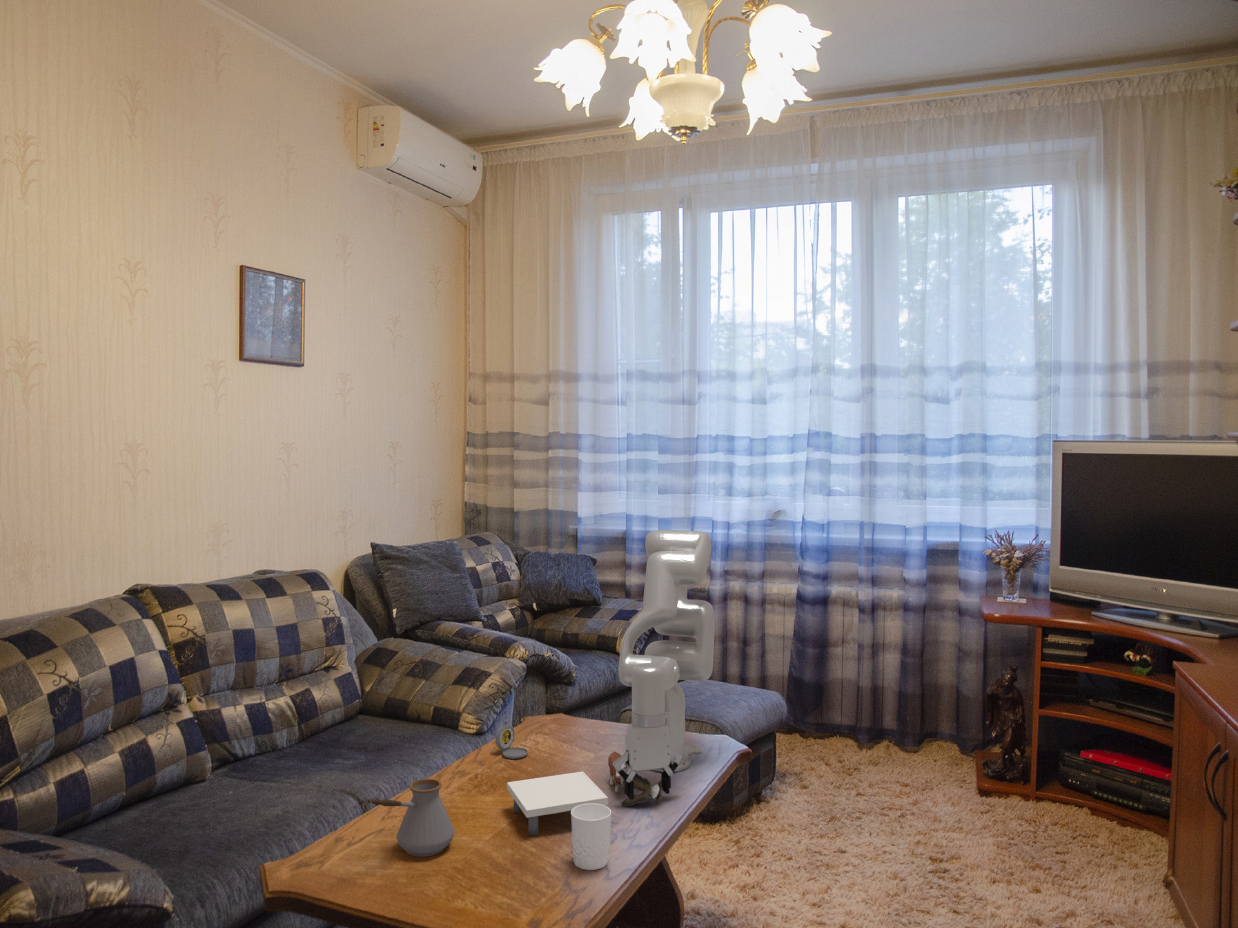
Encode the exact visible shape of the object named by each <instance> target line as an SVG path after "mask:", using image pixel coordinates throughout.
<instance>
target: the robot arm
mask: <svg viewBox="0 0 1238 928" xmlns="http://www.w3.org/2000/svg"><path fill="white" fill-rule="evenodd" d="M644 544H645V545H644V547H645V551H646V556H647V561H646V569H645V579H644V588H643V590H644V592H643V600H642V601H643V603H642V609H641V612H640V614H639V615H638V616H637V617H636V618H635V619H634V620H632V622H631V623H630V624H629V626H628V627H627V628H626V630H625V633H624V634H623V637H622V640H621V643H620V649H619V651H620V652H619V660H618V679H619V681H620V683H622V685H623V686H626V687H629V688H630V687H631V723H629V724H627V728H626V734H625V741H624V749H623V754H622V755H621V757H619V758H618V759H617V760H616V761H614V762H613V766H614V768H615V769H616V771H617V773H618V774H620V775H621V776H622V777H623V778H624V782H623V783H624V786H623V789H624V790H623V792H624V795H625V796H626V797H627V798H629V799H630V800H632V799H634V795H635V788H634V782H633V781H632V779H633V777H634V776H635V774H636V773H640V772H646V771H654V772H658V773H659V772H660V773H661V775H660V780H661V779H662V788H663V789H662V790H661V791H662V792H664V793H665V794H667V795H669V794H670V791H671V790H670V789H671V788H672V777H673V775H674V772H676V773H677V772H681V771H683V770H686V769H688V768H689V767H690V766H691V763H692V761H691V760H692V759H691V758H690V757H691V756H692V755H698V754H702V753H703V748H702V746H701V745H696V746H693V744H685V741H686V739H685V738H686V737H685V736H686V733H685V731H686V730H685V729H686V718H685V717H686V696H685V693H684V691H683V688H682V687H681V685H680V684H679V680H680V681H681V680H683V681H696V682H697V681H698V682H700V681H701V682H703V681H707V680H709V679H710V677H711V676H712V674H713V670H714V668H713V667H714V653H715V651H714V650H715V623H716V622H715V619H716V618H715V612H714V611H715V610H714V607H713V605H712V604H711V603H710V602H708V601H707V600H704V599H703V600H702V599H688V586H692V587H697V586H700V585H702V583H704V581H705V578H706V575H707V571H708V566H709V562H710V558H711V554H712V539H711V537H710V535H709V533H708V532H705V531H701V530H679V529H678V530H676V529H675V530H674V529H659V530H653V531H650V532H649V533H647V534H646V537H645V541H644ZM650 629H654V631H655V632H656V633H657V634H659V635H663V636H668V637H669V636H671V637H686V638H694V639H695V640H696V642H695V641H694V642H693V641H680V640H656V641H653V642H650V643H649V644H647V647H646V648H645V650H644V654H634V653H633V651H634V647H635V644H636V642H637V640H638V639H639V638H640V636H641V635H643V634H644V633H646V632H647V631H648V630H650ZM622 764H625V765H626V766H627V768H626V770H625V771H623V769H622V767H621V766H622Z"/></svg>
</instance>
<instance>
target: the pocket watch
mask: <svg viewBox="0 0 1238 928" xmlns="http://www.w3.org/2000/svg"><path fill="white" fill-rule="evenodd" d="M504 717H507V718H504ZM503 718H504V719H503ZM508 720H509V716H508V715H507V714H504V715H502V717H501V721H502V722H504V724H502V725H501V726H500V727H499V729H498V730H497V732H496V735H495V744H496V747H497V748H498V749H499V750H502V756H503V757H504V758H507V759H512V760H515V759H516V760H517V759H521V758H524V757H526V756H528V755H529V751H528V749H526V748H524V747H511V746H512V744H513V742H514V739H515V728H514V726H513V725H512V724H509V723H507V722H508Z"/></svg>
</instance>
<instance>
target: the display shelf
mask: <svg viewBox="0 0 1238 928" xmlns="http://www.w3.org/2000/svg"><path fill="white" fill-rule="evenodd" d="M506 789H507V791H508V793H509V794H510V795H511V797H512V799H513V813H515V812H516V813H515V814H521V813H523V814H524V816H525V817H526V819H527V818H528V835H529V836H531V837H534V836H537V835H539V816H545V815H551V814H558V813H564V812H569V811H570V812H571V810H572V809H573V808H574V807H576V806H578V805H582V804H588V803H595V804H601V805H605V806H608V805H609V797H608V796H607V795H606V794H605V793H604V791H602V789H600V787H598V786H597V784H596V783H595V782H594V781H592V779H591V778H590V777H589V776H588V775H587V774H586V773H585V772H584V771H576V772H570V773H562V774H556V775H549V776H543V777H535V778H529V779H521V780H515V781H508V782H506Z"/></svg>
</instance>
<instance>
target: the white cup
mask: <svg viewBox="0 0 1238 928" xmlns="http://www.w3.org/2000/svg"><path fill="white" fill-rule="evenodd" d="M570 821H571V822H570V823H571V839H572V840H571V841H572V851H573V863H574V865H575V867H577V868H579V869H581V870H586V871H596V870H600V869H603V868H605V867H606V866H607V865H608V863H609V852H610V851H609V850H610V842H611V828H612V827H611V826H612V825H611V824H612V809H611V808H610V807H609V806H608V805H601V804H595V803H588V804H582V805H578V806H576V807H574V808H573V809H572V810H571V811H570Z"/></svg>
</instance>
